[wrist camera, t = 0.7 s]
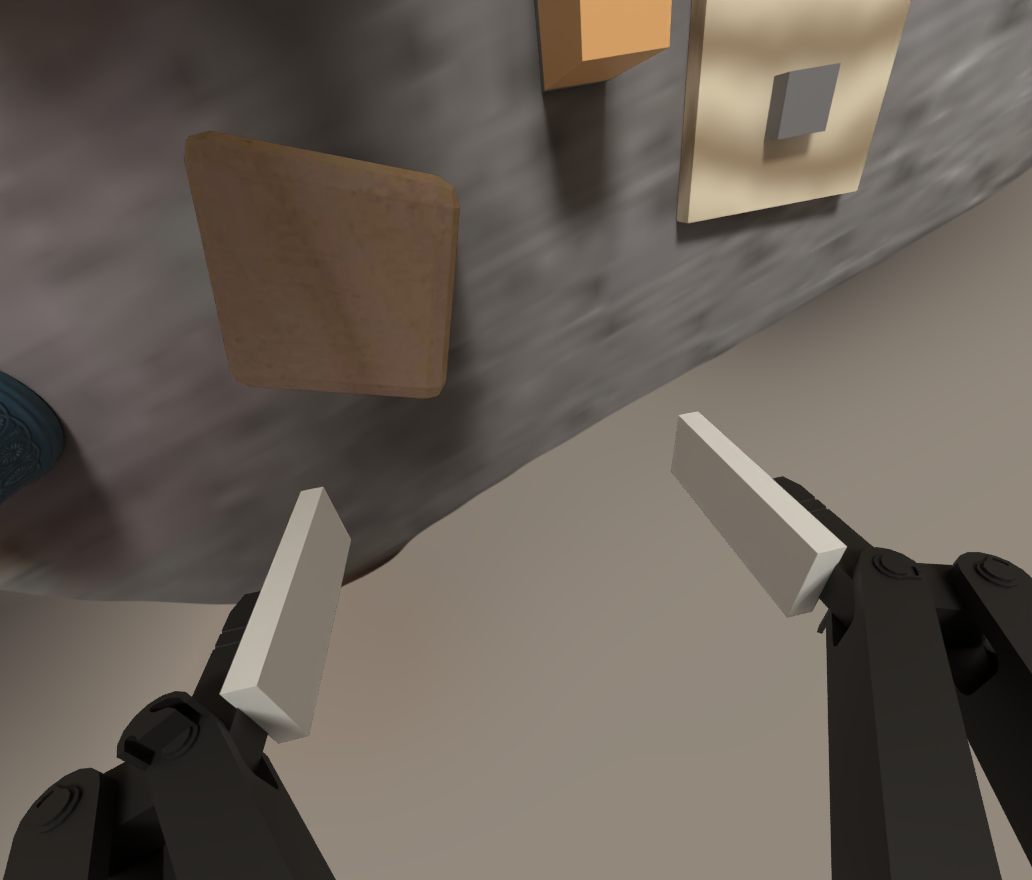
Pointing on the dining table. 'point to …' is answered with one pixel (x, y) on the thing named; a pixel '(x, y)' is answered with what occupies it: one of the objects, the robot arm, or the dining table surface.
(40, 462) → the canister
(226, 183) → the wooden block
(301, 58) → the dining table surface
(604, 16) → the block
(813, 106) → the gray square block
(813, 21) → the birch board
